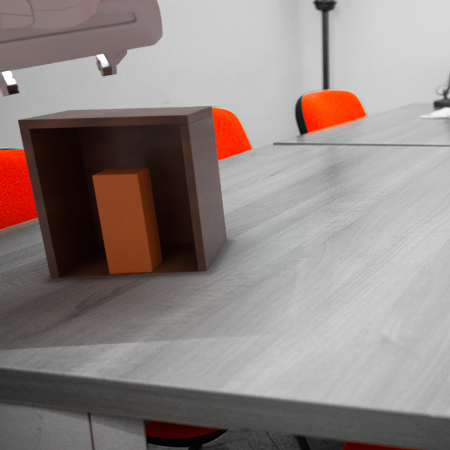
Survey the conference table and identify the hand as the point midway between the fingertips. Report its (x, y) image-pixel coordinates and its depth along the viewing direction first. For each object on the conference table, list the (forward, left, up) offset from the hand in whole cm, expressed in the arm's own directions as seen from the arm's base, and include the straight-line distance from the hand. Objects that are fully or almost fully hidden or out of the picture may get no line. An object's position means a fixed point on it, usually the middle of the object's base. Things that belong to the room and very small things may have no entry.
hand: (59, 80), depth 60 cm
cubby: (+3, +7, -24) cm, 25 cm away
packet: (+3, +4, -23) cm, 23 cm away
